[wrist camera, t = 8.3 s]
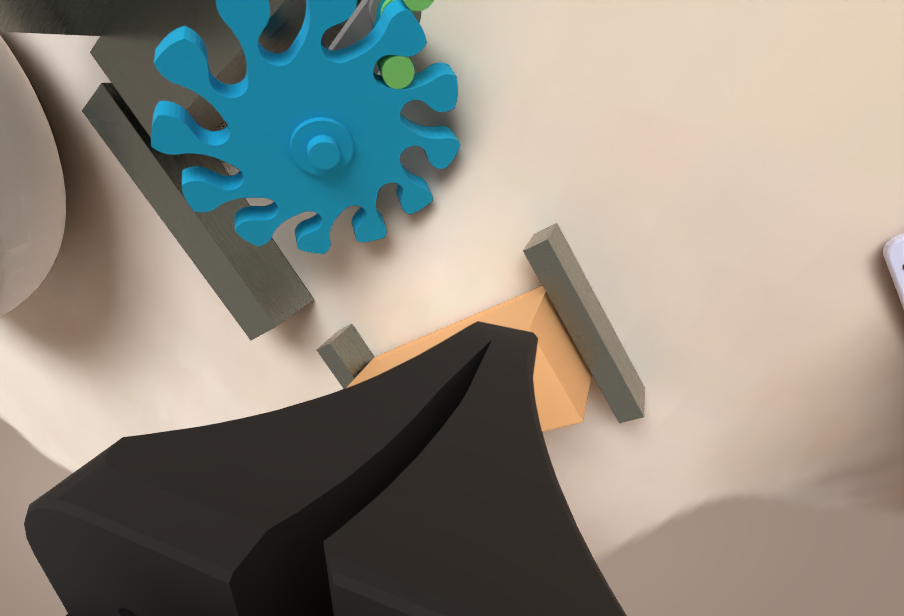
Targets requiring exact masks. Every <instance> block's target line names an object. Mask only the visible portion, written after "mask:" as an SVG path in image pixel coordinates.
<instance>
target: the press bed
mask: <svg viewBox="0 0 904 616" xmlns="http://www.w3.org/2000/svg"><path fill="white" fill-rule="evenodd" d="M269 5H270V17H269V20H268V23H267V25H266V26H265V28H264V29H263V31H262V33H261V34H260V36H259V39H258V42H259V43H260V45H261V46H262V47H263V48H264V49H266V50H267V51H270V52H272V53H282V52H284V51H286V50H288V48H289V47H290V46H291V45H292V43H293V42H294V40H295V39H296V37H297V35H298V34H299V32H300V30H301V28H302V25H303V22H304V19H305V13H306V0H269ZM183 26H186V27H188V28H191V29H192V30H193V31H195V32H196V33H197V34H198V35H199V36H200V37H201V38H202V40H203V41H204V43H205V45H206V48H207V54H208V64H209V69H210V71H211V73H212V75H213V76H214V77H215V78H216V79H217V80H219V81H220V82H222V83H225V84H231V85H232V84H237V83H240V82H241V81H242V80H243V79H244V78H245V76H246V72H247V65H246V57H245V54H244V51H243V48H242V46H241V44H240V42H239V40H238V38H237V37H236V35H235V34H234V32H233V31H232V30H231V28H230V27H229V26H228V25H227V24H226V23H225V22H224V21H223V19H222V18H221V16H220V14H219V12H218V9H217V7H216V0H0V32H20V33H42V34H65V35H87V36H100V38H99V39H98V41H97V42H96V44H95V45H94V47H93V48H92V50H91V51H90V53H91V54H92V56H93V57H94V59H95V60H96V61H97V63H98V64H99V66H100V67H101V68H102V70H103V71H104V73H105V74H106V75H107V77H108V78H109V80H110V81H111V82H112V83H101V85H100V86H99V87H98V89H97V90H96V92H95V93H94V94H93V96H92V97H91V99H90V100H89V101H88V103H87V104H86V106H85V107H84V108H83V110H82V112H83V113H84V114H85V116H86V117H87V119H88V120H89V121H90V123H91V124H92V125H93V127H94V128H95V129H96V131H97V132H98V133H99V135H100V136H101V138H102V139H103V140H104V142H105V143H106V144H107V146H108V147H109V148H110V150H111V151H112V152H113V154H114V155H115V157H116V158H117V159H118V161H119V162H120V163H121V165H122V166H123V167H124V169H125V170H126V172H127V173H128V174H129V176H130V177H131V178H132V180H133V181H134V182H135V184H136V185H137V186H138V188H139V189H140V191H141V192H142V193H143V195H144V196H145V197H146V199H147V200H148V201H149V203H150V204H151V205H152V207H153V208H154V210H155V211H156V212H157V214H158V215H159V216H160V218H161V219H162V220H163V222H164V223H165V225H166V226H167V227H168V229H169V230H170V231H171V233H172V234H173V235H174V237H175V238H176V239H177V241H178V242H179V244H180V245H181V246H182V248H183V249H184V250H185V252H186V253H187V254H188V256H189V257H190V258H191V260H192V261H193V263H194V264H195V265H196V267H197V268H198V269H199V271H200V272H201V273H202V275H203V276H204V278H205V279H206V280H207V282H208V283H209V284H210V286H211V287H212V288H213V290H214V291H215V292H216V294H217V295H218V297H219V298H220V299H221V301H222V302H223V303H224V305H225V306H226V307H227V309H228V310H229V311H230V313H231V314H232V316H233V317H234V318H235V320H236V321H237V322H238V324H239V325H240V326H241V328H242V329H243V331H244V332H245V333H246V335H247V336H248V337H249V339H250V340H253V339H255V338H257V337H258V336H260V335H262V334H264V333H266V332H267V331H269V330H271V329H273V328H275V327H276V326H278V325H279V324H281V323H282V322H283V321H285V320H286V319H288V318H289V317H290V316H292V315H293V314H295V313H296V312H297V311H299V310H300V309H302V308H303V307H304V306H306V305H307V304H309V303H310V302H312V301H313V300H314V299H313V297H312V296H311V294H310V293H309V292H308V290H307V289H306V287H305V286H304V284H303V283H302V281H301V280H300V278H299V277H298V276H297V274H296V273H295V271H294V270H293V268H292V267H291V265H290V264H289V262H288V261H287V259H286V258H285V257H284V255H283V254H282V252H281V251H280V249H279V248H278V246H277V245H276V243H275V242H274V241H273V239H272V238H271V239H270V240H269V242H267V243H266V244H264V245H262V246H255V245H253V244H251V243H249V242H247V241H246V240H244V239H243V238H242V237H240V236H239V235H238V234H237V233H236V231H235V224H234V215H235V213H236V212H237V211H238V210H239V209H241V208H243V207H247V206H249V204H248V203H247V201H246V200H245V198H239V199H234V200H231V201H228V202H225V203H223V204H221V205H220V206H218V207H217V208H215V209H214V210H212V211H209V212H195V211H193V210H192V208H191V207H190V205H189V204H188V202H187V201H186V199H185V197H184V194H183V192H182V171H183V170H184V169H186V168H188V167H193V166H200V167H204V168H207V169H210V170H212V171H214V172H216V173H218V174H221V175H225V176H229V175H228V173H227V172H226V171H225V169H224V168H223V166H222V165H221V163H220V162H219V160H218V159H217V158H215V157H211V156H207V155H203V154H195V153H184V154H176V155H172V154H165V153H162V152H159V151H157V150H155V149H154V148H153V147H151V131H152V121H153V113H154V110H155V107H156V105H157V104H158V102H159V101H170V102H173V103H176V104H178V105H180V106H182V107H183V108H184V109H186V110H187V112H188V113H189V114H190V115H191V116H192V118H193V119H194V120H195V121H196V123H197V124H198V125H199V126H200V127H202V128H203V129H206V130H209V131H214V130H215V129H216V128H217V127H218V126H219V125H220V124H221V123H222V122H223V121H224V119H223V118H222V116H221V115H220V113H219V112H218V111H217V110H216V109H215V108H214V106H213V105H211V104H210V103H209V102H208V101H207V100H206V99H205V98H203V97H202V96H200V95H199V94H197V93H196V92H194V91H192V90H190V89H188V88H186V87H183V86H181V85H178V84H175V83H173V82H171V81H169V80H167V79H166V78H165V77H164V76H162V75H161V74H160V72H159V71H158V70H157V68H156V66H155V64H154V56H155V49H156V48H157V46H158V45H159V44H160V43H161V41H162V40H163V39H164V38H165V37H166V36H167V35H168V34H169V33H171V32H172V31H174V30H175V29H177V28H180V27H183ZM523 252H524V253H525V255H526V257H527V259H528V260H529V262H530V264H531V266H532V268H533V269H534V271H535V273H536V275H537V277H538V278H539V280H540V282H541V284H542V286H543V287H544V289H545V291H546V293H547V294H548V296H549V298H550V300H551V302H552V303H553V305H554V307H555V309H556V311H557V312H558V314H559V316H560V318H561V319H562V321H563V323H564V325H565V327H566V328H567V330H568V332H569V334H570V336H571V337H572V339H573V341H574V343H575V345H576V346H577V348H578V350H579V352H580V353H581V355H582V357H583V359H584V361H585V362H586V364H587V366H588V368H589V370H590V371H591V373H592V375H593V377H594V379H595V380H596V382H597V384H598V386H599V387H600V389H601V391H602V393H603V395H604V396H605V398H606V400H607V402H608V404H609V405H610V407H611V409H612V411H613V413H614V414H615V416H616V418H617V420H618V421H619V423H622V422H626V421H630V420H634V419H638V418H642V417H644V400H645V387H644V386H643V384H642V382H641V380H640V378H639V376H638V374H637V372H636V371H635V369H634V367H633V365H632V363H631V361H630V359H629V357H628V356H627V354H626V352H625V350H624V348H623V346H622V344H621V342H620V341H619V339H618V337H617V335H616V333H615V331H614V329H613V327H612V326H611V324H610V322H609V320H608V318H607V316H606V314H605V313H604V311H603V309H602V307H601V305H600V303H599V301H598V299H597V298H596V296H595V294H594V292H593V290H592V288H591V286H590V284H589V283H588V281H587V279H586V277H585V275H584V273H583V271H582V269H581V268H580V266H579V264H578V262H577V260H576V258H575V256H574V254H573V253H572V251H571V249H570V247H569V245H568V243H567V241H566V239H565V238H564V236H563V234H562V232H561V230H560V228H559V226H558V224H557V223H556V224H554V225H552V226H550V227H548V228H546V229H544V230H542V231H540V232H538V233H536V234H534V235H533V237H532V238H531V240H530V241H529V243H528V244H527V246H526V247H525V249H524V250H523ZM317 351H318V353H319V354H320V356H321V357H322V359H323V360H324V361H325V363H326V364H327V366H328V367H329V369H330V370H331V371H332V373H333V374H334V376H335V377H336V378H337V380H338V381H339V383H340V384H341V386H342V387H343V388H344V389H345V388H347V386H348V385H349V384H350V383H351V382H352V381H353V380H354V379H355V378H356V377H357V376H358V375H359V374H360V372H361V371H362V370H363V369H364V368H365V367H366V366H367V365H368V364H369V363H370V362H371V361H372V360H373V358H374V356H373V355H372V353H371V352H370V350H369V349H368V347H367V346H366V344H365V343H364V341H363V340H362V338H361V337H360V335H359V334H358V332H357V331H356V329H355V328H354V327H353V325H352V324H351V325H349V326H347V327H345V328H343V329H341V330H339V331H338V332H336V333H335V334H334V335H333V336H332V337H331V338H329V339H328V340H327V341H326V342H325V343H324V344H323V345H321V346H320V347H319V348H318V349H317Z"/></svg>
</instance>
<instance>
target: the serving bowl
mask: <svg viewBox="0 0 904 616" xmlns="http://www.w3.org/2000/svg"><path fill="white" fill-rule="evenodd" d="M65 220H66V193H65V185H64V177H63V172H62V168H61V163H60V159H59V155H58V151H57V147H56V144H55V141H54V137H53V134H52V131H51V129H50V126H49V123H48V121H47V118H46V116H45V113H44V111H43V109H42V106H41V104H40V102H39V100H38V98H37V96H36V94H35V92H34V90H33V88H32V86H31V84H30V82H29V80H28V78H27V77H26V75H25V73H24V71H23V70H22V68H21V66H20V65H19V63H18V61H17V59H16V58H15V56H14V55H13V53H12V52H11V50H10V49H9V47H8V45H7V44H6V43H5V41H4V40H3V39H2V37H1V36H0V317H1V316H3V315H5V314H6V313H8V312H9V311H11V310H12V309H14V308H15V307H17V306H18V305H19V304H20V303H22V302H23V301H24V300H26V299H27V298H28V297H29V296H30V295H31V294H32V293H33V292H34V291H35V290H36V289H37V288H38V287H39V285H40V284H41V283H42V281H43V280H44V279H45V277H46V276H47V275H48V273H49V271H50V269H51V268H52V266H53V264H54V262H55V260H56V257H57V255H58V253H59V250H60V246H61V243H62V239H63V235H64V228H65Z"/></svg>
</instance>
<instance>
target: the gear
mask: <svg viewBox="0 0 904 616" xmlns="http://www.w3.org/2000/svg"><path fill="white" fill-rule="evenodd" d="M433 1H434V0H362V1H361V2H360V4H359V5H358V6H357V8H356V5H357V0H306V13H305V19H304V22H303V25H302V28H301V30H300V32H299V34H298V35H297V37H296V39H295V40H294V42H293V43H292V45H291V46H290V47H289V48H288V50H286V51H284V52H282V53H272V52H270V51H267V50H266V49H264V48H263V47H262V46H261V45H260V43H259V42H258V39H259V36H260V34H261V33H262V31H263V29H264V28H265V26H266V25H267V23H268V20H269V17H270V5H269V0H216V7H217V9H218V12H219V14H220V16H221V18H222V19H223V21H224V22H225V23H226V24H227V25H228V26H229V27H230V28H231V30H232V31H233V32H234V34H235V35H236V37H237V38H238V40H239V42H240V44H241V46H242V48H243V51H244V54H245V57H246V65H247V72H246V76H245V78H244V79H243V80H242V81H241V82H240V83H237V84H232V85H231V84H225V83H222V82H220V81H219V80H217V79H216V78H215V77H214V76H213V75H212V73H211V71H210V69H209V64H208V54H207V48H206V45H205V43H204V41H203V40H202V38H201V37H200V36H199V35H198V34H197V33H196V32H195V31H193V30H192V29H191V28H188V27H186V26H183V27H180V28H177V29H175V30H174V31H172V32H171V33H169V34H168V35H167V36H166V37H165V38H164V39H163V40H162V41H161V43H160V44H159V45H158V46H157V48H156V49H155V56H154V64H155V66H156V68H157V70H158V71H159V72H160V74H161V75H162V76H164V77H165V78H166V79H167V80H169V81H171V82H173V83H175V84H178V85H181V86H183V87H186V88H188V89H190V90H192V91H194V92H196V93H197V94H199V95H200V96H202V97H203V98H205V99H206V100H207V101H208V102H209V103H210V104H211V105H213V106H214V108H215V109H216V110H217V111H218V112H219V113H220V115H221V116H222V118H223V119H224V120H225V122H226V123H227V124H228V125H227V127H226V128H224V129H223V130H220V131H209V130H206V129H203V128H202V127H200V126H199V125H198V124H197V123H196V121H195V120H194V119H193V118H192V116H191V115H190V114H189V113H188V112H187V110H186V109H184V108H183V107H182V106H180V105H178V104H176V103H173V102H170V101H159V102H158V104H157V105H156V107H155V110H154V113H153V121H152V131H151V147H153V148H154V149H155V150H157V151H159V152H162V153H165V154H172V155H176V154H184V153H195V154H203V155H207V156H211V157H215V158H217V159H220V160H222V161H224V162H227V163H229V164H231V165H233V166H235V167H236V168H238V169H239V170H240V172H239V173H237V174H235V175H232V176H225V175H221V174H218V173H216V172H214V171H212V170H210V169H207V168H204V167H200V166H193V167H188V168H186V169H184V170H183V171H182V192H183V194H184V197H185V199H186V201H187V202H188V204H189V205H190V207H191V208H192V210H193V211H195V212H209V211H212V210H214V209H215V208H217V207H218V206H220V205H221V204H223V203H225V202H228V201H231V200H234V199H239V198H250V197H255V198H268V199H271V200H273V201H274V202H273V203H272V204H270V205H267V206H247V207H243V208H241V209H239V210H238V211H237V212H236V213H235V215H234V224H235V231H236V233H237V234H238V235H239V236H240V237H242V238H243V239H244V240H246V241H247V242H249V243H251V244H253V245H255V246H262V245H264V244H266V243H267V242H269V240H270V239H271V237H272V235H273V233H274V231H275V230H276V228H277V227H278V226H279V225H280V224H281V223H283V222H284V221H286V220H287V219H289V218H291V217H293V216H295V215H298V214H300V213H303V212H306V211H313V212H316V213H317V214H316V215H315V216H314V217H312V218H309V219H307V220H304V221H302V222H301V223H299V224H298V225H297V227H296V229H295V235H296V241H297V247H298V249H300V250H302V251H306V252H310V253H318V254H324V253H326V252H327V251H328V250H329V248H330V246H331V242H330V230H331V227H332V225H333V222H334V221H335V220H336V218H337V217H338V216H339V215H340V213H341V212H342V211H343V210H344V209H345V208H347V207H349V206H354V205H356V206H361V208H360V209H359V210H358V211H357V212H356V213H355V214H354V216H353V218H352V226H353V229H354V233H355V237H356V239H357V241H358V242H369V241H374V240H378V239H381V238H385V236H386V233H387V229H386V226H385V223H384V220H383V217H382V215H381V213H380V212H379V211H378V210H377V208H376V200H377V194H378V191H379V189H380V188H381V187H382V186H383V185H385V184H387V183H398V185H397V196H398V199H399V201H400V204H401V206H402V209H403V210H404V211H405V212H406V213H408V214H413V213H415V212H417V211H419V210H421V209H422V208H424V207H425V206H427V205H428V204H429V203H430V202H431V201H433V197H432V194H431V192H430V190H429V187H428V185H427V183H426V181H425V180H424V179H423V178H421V177H419V176H416V175H414V174H412V173H410V172H409V171H407V170H406V169H405V168H404V167H403V165H402V164H401V163H400V155H401V153H402V152H403V151H404V150H405V149H406V148H408V147H410V146H420V147H422V148H423V149H424V151H425V153H426V155H427V158H428V160H429V162H430V163H431V165H432V166H434V167H436V168H440V169H444V168H446V167H447V166H448V165H449V164H450V163H451V162H452V160H453V159H454V157H455V155H456V153H457V151H458V149H459V147H460V143H459V141H458V139H457V138H456V136H455V134H454V132H453V131H452V130H451V129H450V128H449V127H446V126H435V127H427V126H421V125H418V124H415V123H413V122H411V121H409V120H408V119H406V118H405V117H404V116H402V115H401V114H400V112H401V109H402V107H403V106H404V105H405V104H406V103H407V102H409V101H411V100H421V101H423V102H424V103H426V104H427V105H428V106H429V107H431V108H432V109H434V110H435V111H438V112H447V111H450V110H452V109H453V108H455V105H456V102H457V95H458V87H457V76H456V75H455V73H454V72H453V70H452V69H451V67H450V66H449V65H448V64H446V63H441V62H440V63H435V64H432V65H430V66H429V67H427V68H426V69H425V70H423V71H421V72H419V73H417V74H414V73H415V72H414V66H413V64H412V62H411V60H410V58H409V56H413V55H416V54H418V53H419V52H420V51H421V50H422V49H423V48H424V47H425V45H426V43H427V42H426V37H425V34H424V32H423V29H422V27H421V26H420V24H419V22H420V19H421V11H422V10H425V9H426V8H428V7H429V6H430V5H431V4H432V3H433ZM355 8H356V9H355ZM349 17H350V18H349ZM348 18H349V19H348ZM347 19H348V21H347V22H346V24H345V25H344V26H343V28H342V29H341V31H340V32H339V34H338V35H337V36H336V38H335V39H334V41H333V42H332V43H331V45H330V46H329V48H328V49H327V48H325V47H324V46H323V45H322V44H321V38H322V35H323V34H324V32H325V31H326V30H327V29H329V28H330V27H332V26H335V25H337V24H339V23H342V22H344V21H346V20H347ZM379 70H380V72H381V75H382V76H381V75H377V73H378V71H379Z"/></svg>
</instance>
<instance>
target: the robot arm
mask: <svg viewBox="0 0 904 616" xmlns="http://www.w3.org/2000/svg"><path fill="white" fill-rule="evenodd" d="M883 256H884V258H885V261H886V264H887V266H888V269H889V272H890V274H891V277H892V280H893V282H894V285H895V288H896V291H897V293H898V296H899V299H900V301H901V304H902V307H903V309H904V270H903V269H902V265H903V264H904V233H902V234H899V235H897V236H895V237H893V238H891V239H890V240H889V241H888V242H887V243H886V244H885V246H884V248H883ZM537 344H538V338H537V336H536V335H535V334H534V332H529V331H524V330H519V329H514V328H509V327H504V326H499V325H494V324H490V323H485V322H480V321H477V322H475V323H473V324H471V325H469V326H468V327H466V328H464V329H463V330H461V331H459V332H458V333H456V334H454V335H452V336H451V337H449V338H447V339H446V340H444V341H442V342H440V343H439V344H437V345H435V346H433V347H432V348H430V349H428V350H426V351H425V352H423V353H421V354H419V355H417V356H416V357H414V358H412V359H410V360H408V361H405V362H403V363H401V364H399V365H397V366H395V367H393V368H391V369H389V370H387V371H385V372H383V373H381V374H379V375H377V376H375V377H372V378H370V379H368V380H365V381H363V382H361V383H358V384H356V385H353V386H350V387H348V388H345V389H342V390H340V391H337V392H335V393H332V394H329V395H326V396H323V397H319V398H316V399H313V400H309V401H306V402H303V403H299V404H296V405H293V406H289V407H286V408H283V409H279V410H275V411H272V412H267V413H263V414H259V415H255V416H251V417H246V418H242V419H237V420H232V421H227V422H222V423H217V424H212V425H206V426H200V427H194V428H187V429H180V430H173V431H166V432H159V433H153V434H146V435H138V436H129V437H123V438H121V439H120V440H118V441H117V442H116V443H114V444H113V445H112V446H110V447H109V448H107V449H106V450H105V451H103V452H102V453H100V454H99V455H98V456H96V457H95V458H94V459H92V460H91V461H89V462H88V463H87V464H85V465H84V466H82V467H81V468H80V469H78V470H77V471H75V472H74V473H73V474H71V475H70V476H69V477H67V478H66V479H64V480H63V481H62V482H60V483H59V484H58V485H56V486H55V487H53V488H52V489H51V490H49V491H48V492H46V493H45V494H44V495H42V496H41V497H39V498H38V499H37V500H35V501H34V502H33V503H31V504H30V505H29V508H28V511H27V514H26V518H25V523H24V526H25V531H26V537H27V540H28V542H29V544H30V546H31V548H32V550H33V553H34V555H35V557H36V558H37V560H38V562H39V563H40V565H41V567H42V568H43V570H44V572H45V574H46V576H47V577H48V579H49V581H50V583H51V584H52V586H53V588H54V590H55V591H56V593H57V595H58V596H59V598H60V600H61V601H62V603H63V605H64V607H65V609H66V610H67V612H68V614H67V615H66V616H626V614H625V612H624V611H623V609H622V607H621V606H620V604H619V602H618V601H617V599H616V597H615V595H614V594H613V592H612V591H611V589H610V587H609V586H608V584H607V582H606V580H605V578H604V576H603V575H602V573H601V571H600V569H599V567H598V566H597V564H596V562H595V560H594V558H593V556H592V554H591V552H590V550H589V549H588V547H587V545H586V543H585V541H584V539H583V537H582V535H581V533H580V531H579V529H578V527H577V525H576V522H575V520H574V518H573V515H572V513H571V511H570V508H569V506H568V504H567V501H566V499H565V497H564V494H563V492H562V490H561V488H560V485H559V483H558V480H557V478H556V475H555V472H554V469H553V466H552V463H551V460H550V457H549V454H548V451H547V447H546V444H545V441H544V437H543V433H542V429H541V425H540V421H539V416H538V411H537V406H536V399H535V392H534V382H533V374H534V367H535V359H536V352H537Z"/></svg>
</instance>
